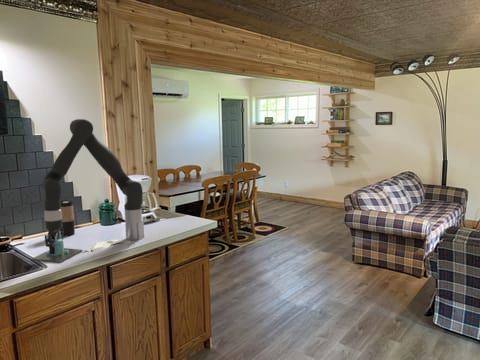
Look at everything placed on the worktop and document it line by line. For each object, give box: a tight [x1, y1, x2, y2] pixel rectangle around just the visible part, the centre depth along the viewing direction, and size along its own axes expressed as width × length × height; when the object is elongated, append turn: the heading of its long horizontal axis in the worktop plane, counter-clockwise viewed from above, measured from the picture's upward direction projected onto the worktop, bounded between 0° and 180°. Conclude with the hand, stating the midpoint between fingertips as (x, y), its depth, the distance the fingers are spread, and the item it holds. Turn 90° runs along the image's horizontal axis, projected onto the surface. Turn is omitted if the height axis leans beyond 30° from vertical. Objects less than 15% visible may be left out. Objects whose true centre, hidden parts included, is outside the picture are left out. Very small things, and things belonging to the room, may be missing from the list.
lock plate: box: [31, 247, 84, 264], centre depth 178 cm, size 16×16×6 cm
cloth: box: [82, 238, 126, 254], centre depth 194 cm, size 26×14×2 cm, turn 134°
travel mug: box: [60, 199, 76, 237], centre depth 212 cm, size 8×8×20 cm
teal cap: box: [45, 238, 69, 256], centre depth 178 cm, size 10×6×7 cm, turn 104°
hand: (55, 251), depth 178 cm, fingers closed on teal cap, 6 cm apart
